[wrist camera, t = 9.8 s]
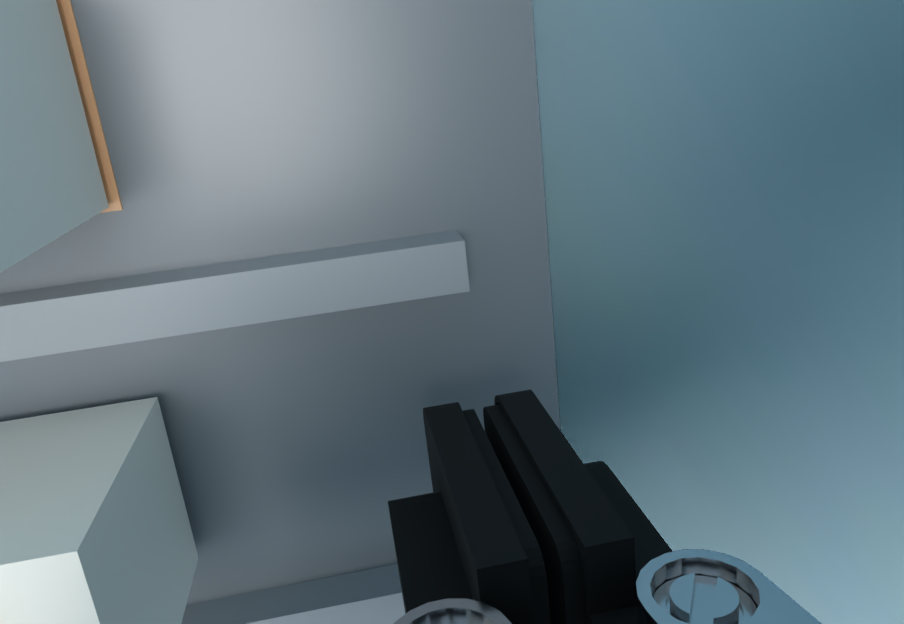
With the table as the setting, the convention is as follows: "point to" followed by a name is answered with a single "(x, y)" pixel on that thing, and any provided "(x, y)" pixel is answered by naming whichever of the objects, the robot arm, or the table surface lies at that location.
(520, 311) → the grey compartment tray
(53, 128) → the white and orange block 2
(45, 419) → the pale grey rectangular block
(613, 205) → the table surface
